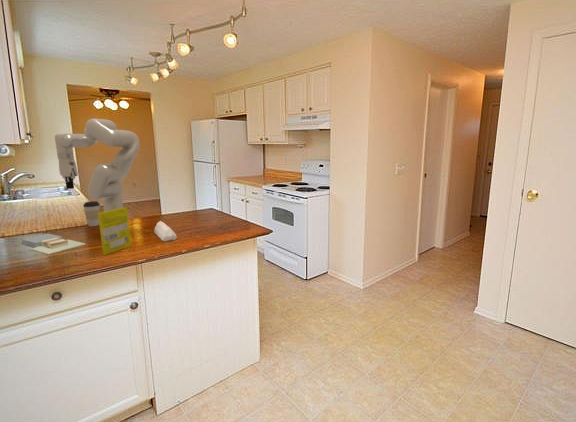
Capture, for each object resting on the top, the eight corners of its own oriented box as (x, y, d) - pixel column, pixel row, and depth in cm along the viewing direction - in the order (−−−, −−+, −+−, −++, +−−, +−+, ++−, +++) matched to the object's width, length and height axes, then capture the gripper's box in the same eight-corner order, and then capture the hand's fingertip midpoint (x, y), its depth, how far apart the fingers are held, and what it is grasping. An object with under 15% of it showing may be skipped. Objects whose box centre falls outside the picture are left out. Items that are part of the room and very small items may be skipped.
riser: (63, 241, 162) (62, 236, 161) (36, 247, 151) (35, 243, 151) (48, 237, 168) (48, 233, 167) (22, 243, 158) (21, 239, 157)
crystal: (181, 233, 164) (169, 223, 184) (168, 228, 160) (158, 219, 180) (174, 245, 164) (164, 235, 183) (162, 241, 160) (152, 231, 179)
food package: (130, 245, 155) (126, 206, 151) (131, 245, 155) (127, 207, 151) (102, 255, 141) (97, 212, 137) (104, 255, 141) (98, 213, 137)
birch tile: (68, 244, 155) (67, 240, 154) (52, 248, 149) (51, 244, 148) (57, 242, 159) (56, 237, 159) (41, 245, 153) (40, 241, 153)
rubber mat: (86, 244, 157) (86, 243, 157) (48, 254, 142) (48, 253, 142) (68, 240, 164) (68, 239, 164) (30, 249, 149) (30, 248, 149)
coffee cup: (85, 227, 190) (82, 203, 187) (85, 224, 198) (82, 201, 195) (102, 225, 195) (99, 202, 192) (102, 222, 203) (99, 199, 199)
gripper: (80, 156, 174) (84, 188, 178) (65, 156, 181) (69, 187, 185) (66, 156, 168) (70, 190, 172) (51, 156, 174) (56, 188, 178)
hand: (70, 188), depth 178 cm, fingers closed
